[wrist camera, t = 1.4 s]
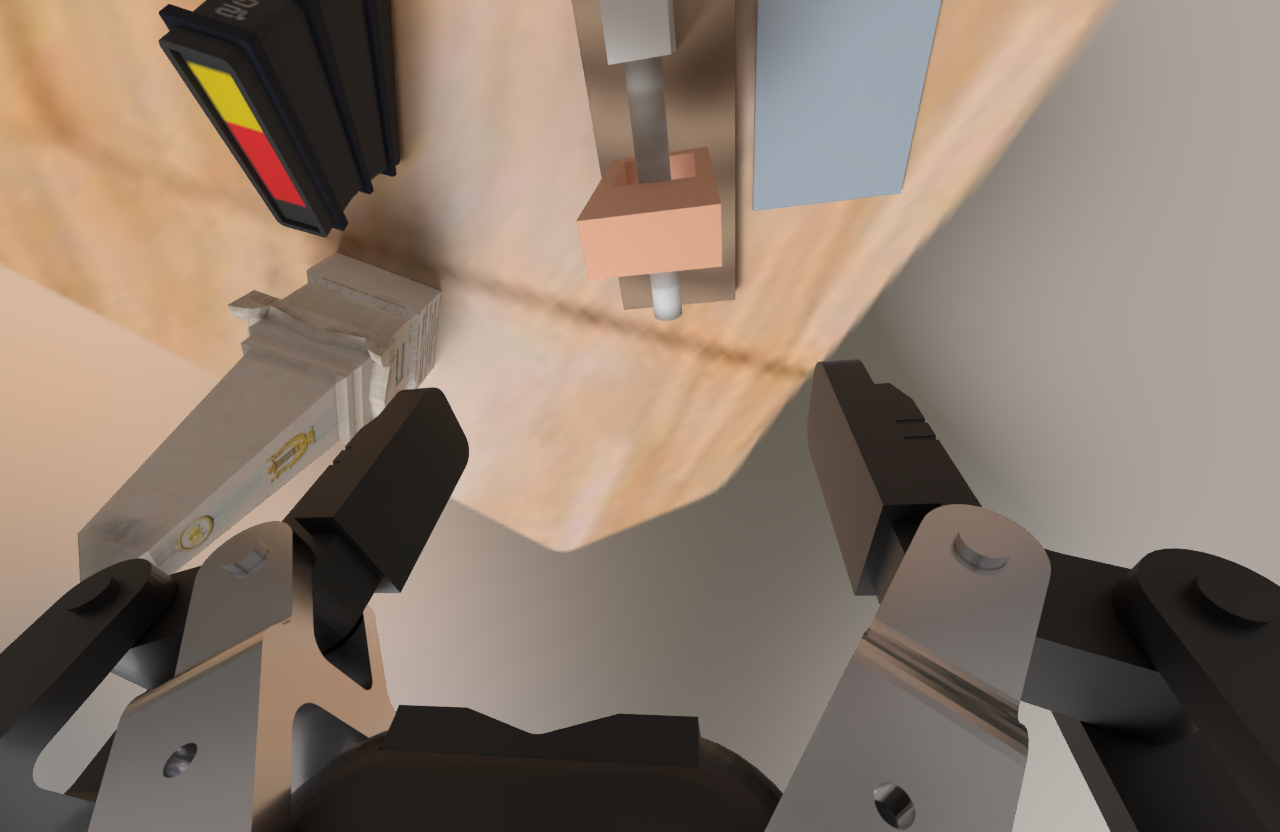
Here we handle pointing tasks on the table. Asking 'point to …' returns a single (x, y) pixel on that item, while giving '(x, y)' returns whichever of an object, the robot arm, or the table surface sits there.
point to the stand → (665, 115)
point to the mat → (837, 97)
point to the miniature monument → (272, 410)
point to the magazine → (295, 96)
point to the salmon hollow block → (653, 219)
